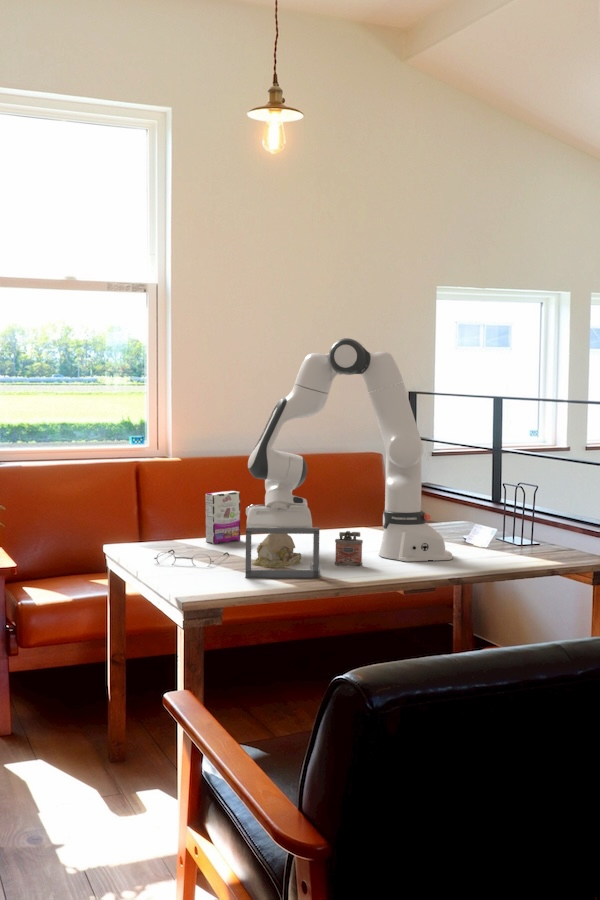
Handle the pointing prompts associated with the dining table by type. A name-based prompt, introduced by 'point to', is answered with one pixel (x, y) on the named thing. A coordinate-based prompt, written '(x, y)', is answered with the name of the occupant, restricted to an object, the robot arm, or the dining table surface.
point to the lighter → (348, 549)
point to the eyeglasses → (186, 557)
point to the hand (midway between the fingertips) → (279, 541)
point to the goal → (283, 573)
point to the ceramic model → (277, 551)
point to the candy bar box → (222, 517)
